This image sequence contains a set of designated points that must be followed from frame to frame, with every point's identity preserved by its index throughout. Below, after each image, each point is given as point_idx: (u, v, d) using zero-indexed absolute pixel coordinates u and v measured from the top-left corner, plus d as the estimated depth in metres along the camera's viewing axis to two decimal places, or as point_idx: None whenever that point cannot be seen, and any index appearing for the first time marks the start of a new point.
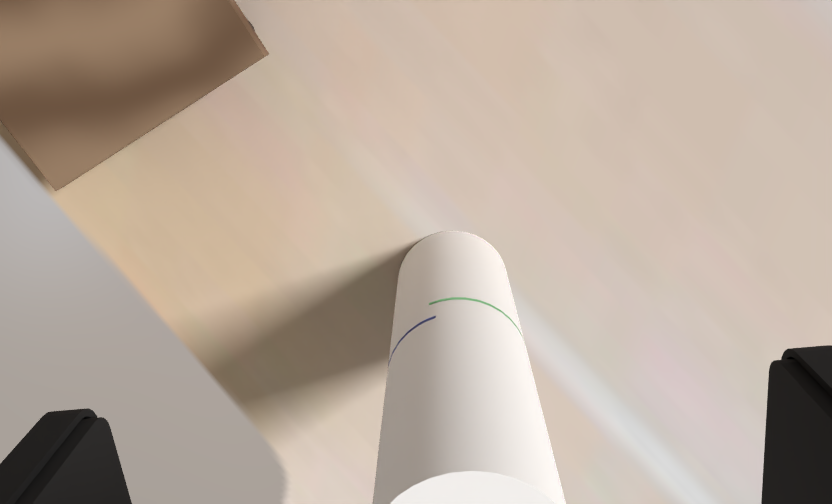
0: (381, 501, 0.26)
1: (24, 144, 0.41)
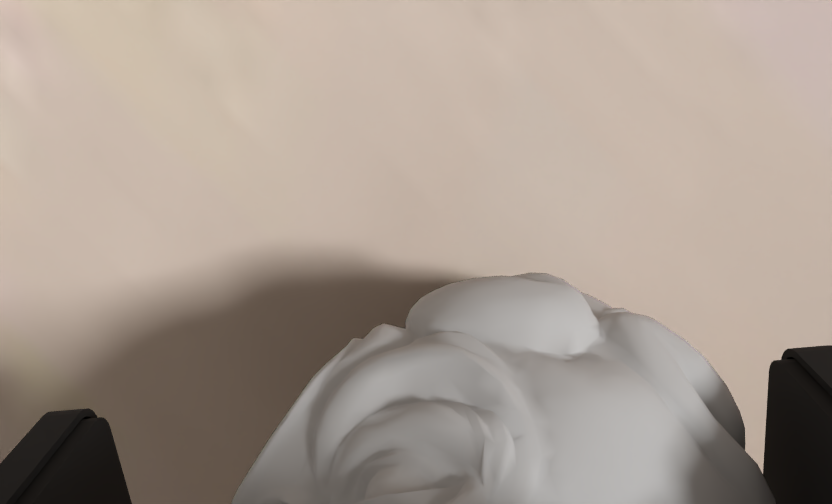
0: None
1: None
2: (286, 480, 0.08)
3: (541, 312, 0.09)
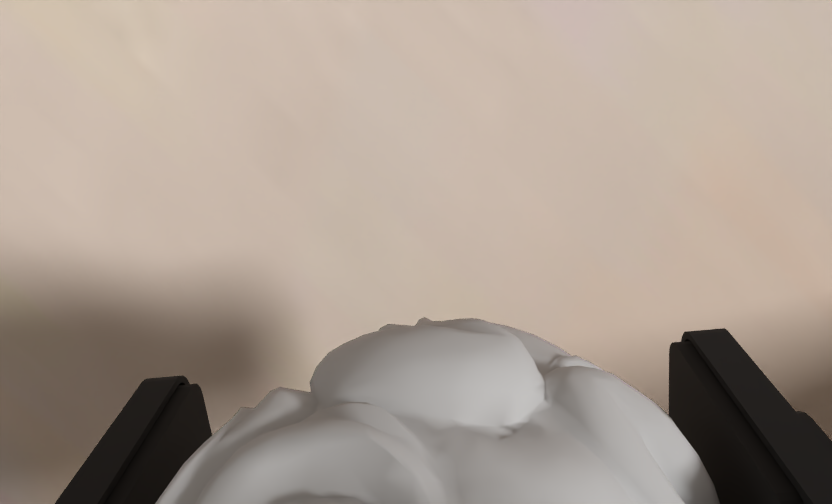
0: None
1: None
2: None
3: (472, 374, 0.07)
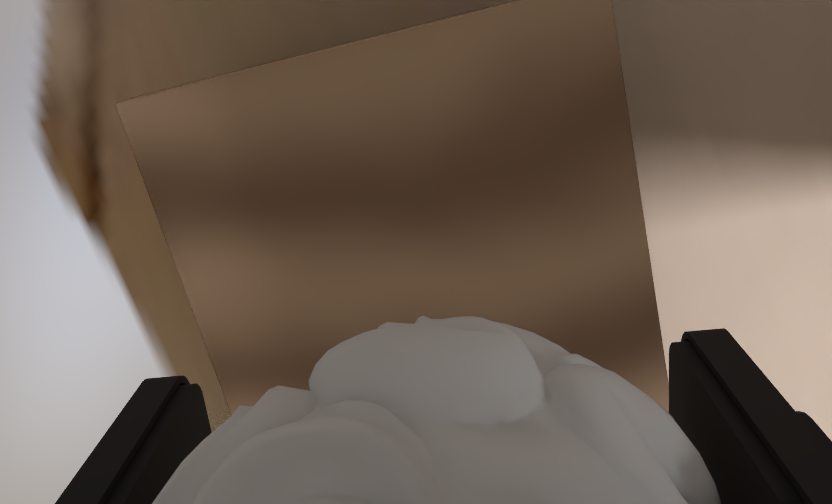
0: None
1: None
2: None
3: (471, 372, 0.07)
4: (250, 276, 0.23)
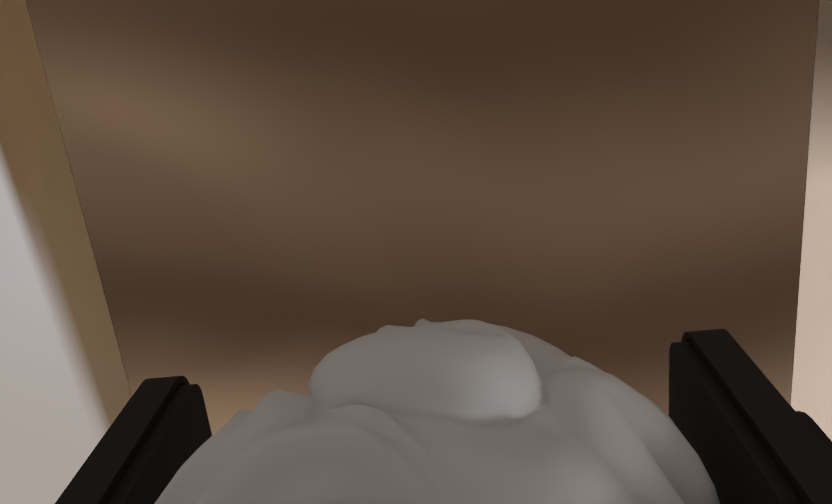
0: None
1: None
2: None
3: (471, 375, 0.07)
4: (173, 138, 0.14)
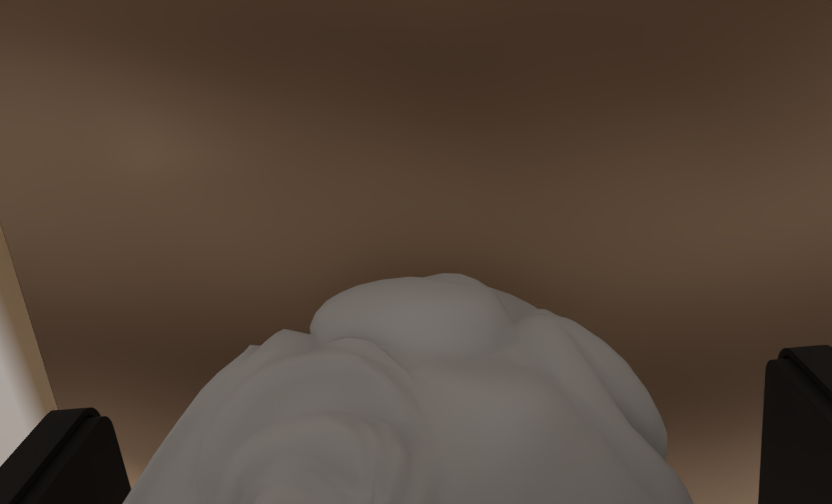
0: None
1: None
2: (168, 500, 0.08)
3: (449, 316, 0.09)
4: (115, 171, 0.12)
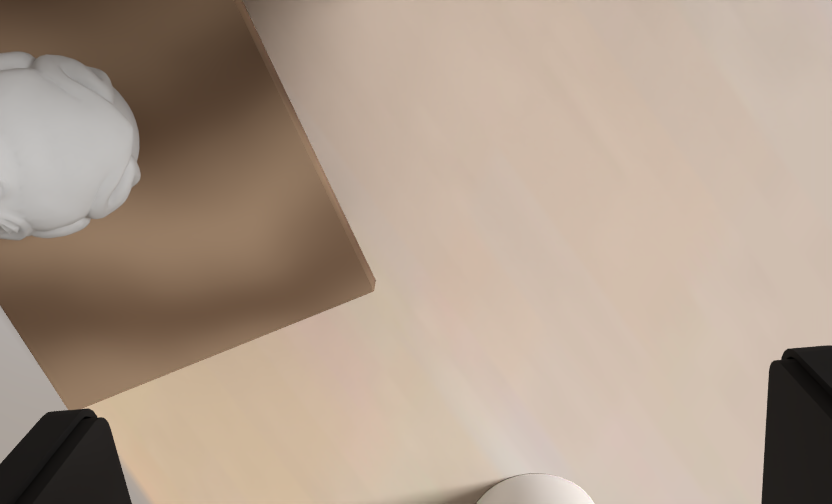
0: None
1: (38, 354, 0.31)
2: None
3: None
4: None
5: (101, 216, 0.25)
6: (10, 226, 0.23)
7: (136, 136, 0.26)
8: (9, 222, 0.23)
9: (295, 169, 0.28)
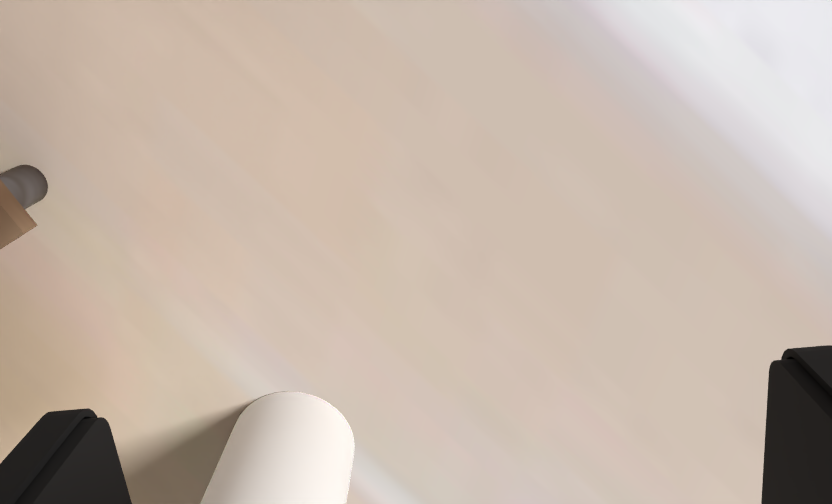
0: None
1: None
2: None
3: None
4: None
5: None
6: None
7: None
8: None
9: None
